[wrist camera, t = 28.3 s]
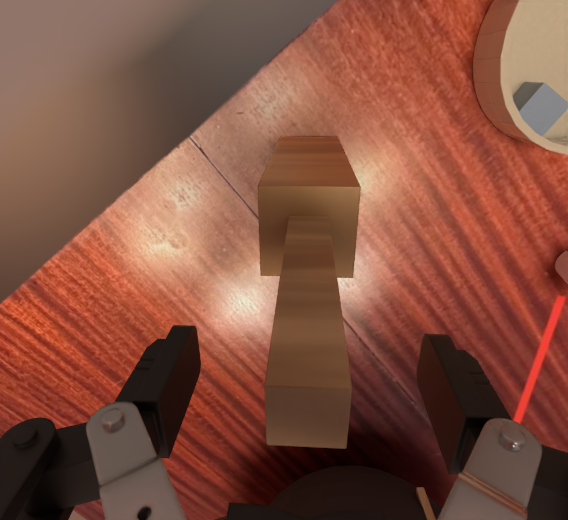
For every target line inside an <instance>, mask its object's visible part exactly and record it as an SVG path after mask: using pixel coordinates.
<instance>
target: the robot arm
mask: <svg viewBox="0 0 568 520" xmlns="http://www.w3.org/2000/svg"><path fill="white" fill-rule="evenodd" d="M200 366H201V360H200V351H199V344H198V336H197V329H196V327H195V326H185V325H174V326H173V327H172V328H171V330H170V332H169V334H168V336H167V338H166V339H157V340H156V341H155V342H153V343H152V344H151V345H150V346H149V347H147V348H146V350H145V352H144V353H143V355H142V357H141V358H140V361H139V362H138V363H137V365H136V367H135V370H133V372H132V373H131V375H130V377H129V378H128V380H127V382H126V383H125V385H124V387H123V389H122V390H121V392H120V394H119V395H118V397H117V399H116V400H115V402H114V403H111V404H108V405H106V406H104V407H102V408H100V409H99V410H98V411H96V412H95V413H94V414H93V415H92V416H91V418H90V419H89V421H88V422H86V423H83V424H79V425H74V426H69V427H65V428H60V429H56V427H55V425H54V423H53V422H52V421H51V420H49V419H47V418H33V419H29V420H26V421H24V422H21V423H19V424H17V425H15V426H14V427H12V428H11V429H9V430H8V431H7V432H6V433H5V434H4V435H3V436H2V437H1V438H0V520H68V519H69V517H70V515H71V513H72V511H73V509H74V507H75V505H79V504H83V503H87V502H90V501H94V500H98V499H101V502H102V506H103V510H104V515H105V519H106V520H187V518H186V516H185V513H184V511H183V508H182V506H181V504H180V501H179V499H178V497H177V494H176V492H175V489H174V487H173V485H172V482H171V480H170V478H169V475H168V473H167V470H166V468H165V466H164V463H163V461H162V459H161V458H169V457H170V454H171V451H172V449H173V446H174V443H175V440H176V438H177V435H178V432H179V430H180V427H181V424H182V421H183V419H184V416H185V413H186V410H187V408H188V405H189V402H190V399H191V397H192V394H193V391H194V389H195V386H196V383H197V380H198V377H199V374H200ZM417 382H418V387H419V390H420V393H421V396H422V398H423V401H424V404H425V407H426V410H427V413H428V416H429V418H430V421H431V424H432V427H433V430H434V433H435V436H436V438H437V441H438V444H439V447H440V450H441V453H442V456H443V458H444V461H445V464H446V467H447V470H448V473H449V474H459V475H458V477H457V479H456V481H455V483H454V485H453V487H452V489H451V491H450V494H449V496H448V498H447V500H446V502H445V504H444V506H443V508H442V510H441V513H440V515H439V517H438V519H437V520H568V453H567V452H563V451H560V450H557V449H553V448H550V447H547V446H544V445H542V444H541V443H540V442H539V440H538V439H537V437H536V436H535V435H534V434H533V433H532V432H531V431H530V430H529V429H527V428H526V427H524V426H523V425H521V424H519V423H517V422H515V421H512V419H511V417H510V416H509V414H508V412H507V410H506V409H505V407H504V405H503V404H502V402H501V400H500V399H499V397H498V395H497V393H496V392H495V390H494V388H493V387H492V385H490V382H489V380H488V378H487V376H486V375H484V371H483V370H482V368H481V366H480V365H479V363H478V361H477V360H476V359H475V358H473V357H472V356H471V355H470V354H469V353H468V352H466V351H465V350H457V349H456V347H455V345H454V343H453V342H452V340H451V338H450V336H449V335H442V334H425V335H424V337H423V340H422V345H421V351H420V356H419V361H418V366H417ZM215 520H386V518H385V512H379V511H362V510H341V511H337V512H332V513H328V514H323V515H319V516H314V517H309V518H304V517H301V516H298V515H295V514H292V513H289V512H286V511H283V510H280V509H277V508H274V507H271V506H268V505H259V504H242V503H229V507H228V512H227V516H225V517H221V518H218V519H215Z"/></svg>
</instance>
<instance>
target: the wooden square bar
mask: <svg viewBox="0 0 568 520" xmlns="http://www.w3.org/2000/svg"><path fill="white" fill-rule="evenodd" d="M264 388H265V416H266V443H267V445H279V446H299V447H320V448H340V449H346V447H347V438H348V427H349V417H350V407H351V397H352V383H351V376H350V369H349V362H348V354H347V347H346V340H345V332H344V325H343V318H342V310H341V303H340V296H339V289H338V281H337V274H336V267H335V259H334V252H333V245H332V237H331V230H330V223H329V217H323V216H289V219H288V226H287V233H286V239H285V246H284V253H283V260H282V267H281V274H280V281H279V288H278V295H277V302H276V309H275V316H274V323H273V329H272V336H271V343H270V350H269V357H268V364H267V371H266V378H265V385H264Z"/></svg>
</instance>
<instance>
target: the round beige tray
mask: <svg viewBox="0 0 568 520" xmlns="http://www.w3.org/2000/svg"><path fill="white" fill-rule="evenodd" d="M473 80H474V88H475V92H476V95H477V99H478V101H479V104H480V106H481V108H482V110H483V112H484V113H485V115H486V116H487V118H488V119H489V120H490V121H491V122H492V124H493V125H494V126H495V127H497V128H498V129H499V130H500V131H501V132H503V133H504V134H506V135H508V136H510V137H511V138H514V139H516V140H518V141H520V142H524V143H527V144H530V145H533V146H536V147H539V148H543V149H546V150H549V151H553V152H557V153H561V154H565V155H568V109H567V110H566V111H565V112H564V114H563V115H562V116H561V117H560V118H559V119H558V120H557V121H556V122H555V123H554V124H553V125H552V126H551V128H550V129H549V130H548V131H547V132H546V133H545V134H544V135H543V136H541V135H539V134H537V133H536V132H535V131H534V130H533V129H532V128H531V127H530V126H529V125H528V124H527V123H526V122H525V121H524V120H523V119H522V117H521V115H520V113H519V111H518V109H517V107H516V105H515V103H514V101H513V95H514V94H515V93H516V91H517V90H518V89H519V88H520V87H521V86H522V84H523V83H524V82H543V83H546V84H547V85H548V86H549V87H550V88H552V89H553V90H554V91H555V92H556V93H557V94H559V95H560V96H561V97H562V98H563V99H565V100H566V101H567V102H568V0H493V2H492V4H491V5H490V7H489V9H488V11H487V13H486V15H485V18H484V20H483V22H482V25H481V28H480V30H479V33H478V37H477V41H476V45H475V50H474V57H473Z"/></svg>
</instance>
